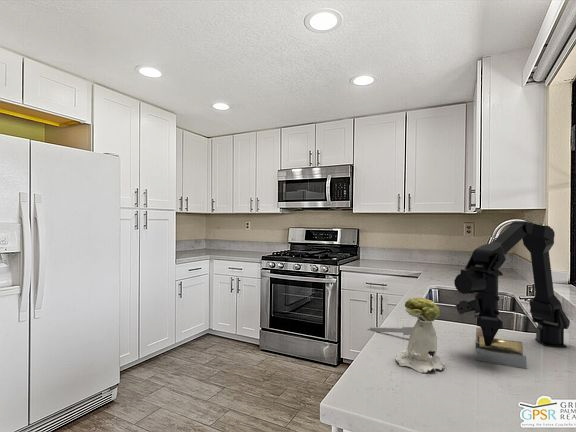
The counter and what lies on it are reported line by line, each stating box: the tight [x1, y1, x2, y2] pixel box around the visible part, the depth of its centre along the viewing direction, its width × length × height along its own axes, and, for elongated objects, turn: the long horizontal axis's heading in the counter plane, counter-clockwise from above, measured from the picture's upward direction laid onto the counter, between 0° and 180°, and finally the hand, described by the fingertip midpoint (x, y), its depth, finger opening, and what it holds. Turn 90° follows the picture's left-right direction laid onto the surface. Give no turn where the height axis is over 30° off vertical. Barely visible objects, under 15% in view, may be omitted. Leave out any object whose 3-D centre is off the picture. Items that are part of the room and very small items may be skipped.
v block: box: [475, 341, 528, 369], centre depth 100 cm, size 12×7×3 cm, turn 64°
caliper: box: [367, 326, 414, 336], centre depth 120 cm, size 20×1×6 cm, turn 49°
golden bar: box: [480, 336, 524, 354], centre depth 100 cm, size 10×3×3 cm, turn 64°
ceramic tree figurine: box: [395, 297, 446, 374], centre depth 97 cm, size 12×13×18 cm
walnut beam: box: [475, 327, 483, 342], centre depth 112 cm, size 4×10×4 cm, turn 154°
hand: (486, 344), depth 102 cm, fingers closed on golden bar, 3 cm apart
